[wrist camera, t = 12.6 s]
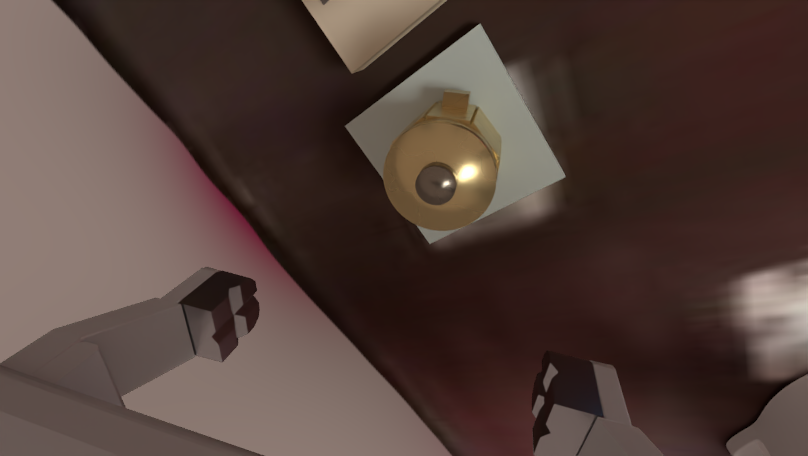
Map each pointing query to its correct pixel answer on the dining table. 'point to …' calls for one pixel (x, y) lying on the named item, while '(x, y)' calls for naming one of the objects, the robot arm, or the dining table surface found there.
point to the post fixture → (367, 25)
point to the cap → (444, 165)
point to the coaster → (491, 91)
